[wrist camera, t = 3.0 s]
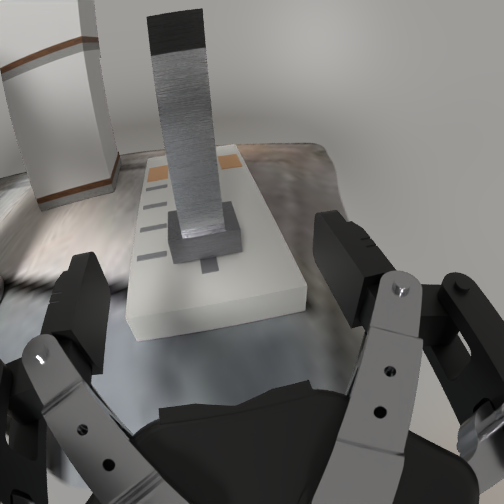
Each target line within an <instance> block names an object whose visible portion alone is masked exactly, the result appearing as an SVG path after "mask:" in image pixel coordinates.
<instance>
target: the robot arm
mask: <svg viewBox="0 0 504 504" xmlns="http://www.w3.org/2000/svg"><path fill="white" fill-rule="evenodd" d="M313 255H314V259H315V262H316V264H317V266H318V268H319V270H320V271H321V273H322V275H323V277H324V279H325V280H326V282H327V284H328V286H329V288H330V290H331V291H332V293H333V295H334V297H335V299H336V301H337V302H338V304H339V306H340V308H341V310H342V312H343V314H344V316H345V317H346V319H347V321H348V323H349V325H350V327H351V328H355V327H358V326H363V328H364V329H365V333H364V336H363V339H362V343H361V347H360V350H359V354H358V357H357V360H356V364H355V367H354V370H353V374H352V377H351V380H350V383H349V385H348V388H347V391H346V394H345V395H344V394H341V393H337V392H334V391H328V390H319V389H312V387H311V385H310V382H309V380H307V381H303V382H299V383H295V384H291V385H287V386H283V387H279V388H275V389H271V390H269V391H267V392H265V393H263V394H261V395H259V396H257V397H255V398H253V399H250V400H248V401H246V402H244V403H242V404H239V405H236V406H223V405H207V404H189V405H182V406H175V407H167V408H159V418H160V419H157V420H155V421H153V422H151V423H149V424H147V425H146V426H144V427H143V428H141V429H140V430H139V431H138V432H136V433H135V434H134V435H133V433H132V432H131V431H130V430H129V429H128V428H127V427H126V426H125V425H124V424H123V423H122V422H121V420H120V419H119V418H118V417H117V416H116V415H115V413H114V412H113V411H112V410H111V408H110V407H109V406H108V405H107V403H106V402H105V401H104V400H103V398H102V397H101V396H100V394H99V393H98V392H97V391H96V389H95V388H94V387H93V385H92V384H91V377H92V375H97V374H103V363H104V351H105V341H106V331H107V322H108V314H109V307H110V289H109V285H108V283H107V280H106V278H105V276H104V274H103V271H102V269H101V267H100V264H99V262H98V260H97V257H96V255H95V254H94V252H88V253H83V254H78V255H74V256H73V257H72V260H71V263H70V266H69V269H68V271H64V272H63V273H62V274H61V275H60V277H59V278H58V279H57V281H56V282H55V285H54V289H53V292H52V295H51V298H50V301H49V302H50V304H49V305H48V308H47V312H46V315H45V319H44V322H43V326H42V330H41V333H40V335H39V336H37V337H35V338H33V339H32V340H31V341H30V342H29V343H28V344H27V345H26V347H25V349H24V351H23V354H22V357H21V358H19V359H17V360H14V361H12V362H10V363H7V364H4V363H3V361H2V360H1V359H0V504H48V493H47V475H46V474H47V471H46V432H47V424H48V426H49V428H50V429H51V431H52V433H53V434H54V436H55V438H56V439H57V441H58V443H59V444H60V446H61V447H62V449H63V451H64V452H65V454H66V455H67V457H68V458H69V460H70V461H71V463H72V464H73V466H74V467H75V469H76V470H77V472H78V473H79V474H80V476H81V477H82V479H83V480H84V481H85V483H86V484H87V485H88V487H89V488H90V489H91V491H92V492H93V494H92V495H91V496H90V498H89V499H88V501H87V502H86V504H479V495H480V494H481V493H483V492H484V491H486V490H487V489H489V488H490V487H492V486H493V485H495V484H496V483H497V482H499V481H500V480H502V479H503V478H504V321H503V320H502V318H501V317H500V315H499V314H498V313H497V311H496V310H495V308H494V307H493V306H492V304H491V303H490V302H489V300H488V299H487V297H486V296H485V295H484V293H483V292H482V291H481V290H480V288H479V287H478V286H477V284H476V283H475V282H474V281H473V280H472V279H471V278H469V277H468V276H466V275H464V274H461V273H456V272H455V273H449V274H447V275H446V276H445V277H444V279H443V281H442V284H441V285H426V284H420V282H419V281H418V279H416V278H415V277H414V276H413V275H411V274H409V273H407V272H403V271H396V269H395V268H394V267H393V265H392V264H391V263H390V262H389V260H388V259H387V258H386V257H385V255H384V254H383V253H382V251H381V250H380V249H379V248H378V246H376V244H375V243H374V241H373V240H372V239H370V236H369V235H368V234H367V233H366V231H365V230H364V229H363V228H362V227H360V226H358V225H357V224H355V223H353V222H352V221H350V222H346V220H345V219H344V218H343V217H342V215H341V214H340V213H339V212H338V211H337V210H333V211H326V212H320V213H316V215H315V222H314V237H313ZM3 292H4V280H3V279H2V277H1V275H0V300H1V298H2V295H3ZM459 331H460V332H461V334H462V336H463V337H464V339H465V341H466V342H467V344H468V346H469V347H470V350H471V356H470V354H469V353H468V351H467V349H466V348H465V346H464V344H463V343H462V341H461V339H460V338H459V336H458V332H459ZM422 349H423V351H424V353H425V354H426V356H427V358H428V360H429V362H430V364H431V366H432V367H433V370H434V372H435V374H436V376H437V378H438V379H439V381H440V383H441V385H442V387H443V390H444V392H445V394H446V396H447V398H448V400H449V402H450V404H451V406H452V408H453V410H454V412H455V415H456V417H457V419H458V421H459V423H460V429H459V431H458V443H457V450H458V452H459V453H460V456H458V455H456V454H454V453H452V452H450V451H448V450H446V449H444V448H442V447H440V446H438V445H436V444H434V443H432V442H430V441H428V440H426V439H424V438H422V437H421V436H419V435H417V434H415V433H413V432H411V431H410V430H409V426H410V421H411V417H412V411H413V406H414V401H415V396H416V390H417V384H418V378H419V371H420V364H421V357H422ZM7 414H8V415H9V416H10V417H11V421H10V432H9V445H8V444H7V441H6V437H5V432H6V421H7Z"/></svg>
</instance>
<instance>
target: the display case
mask: <svg viewBox="0 0 504 504" xmlns="http://www.w3.org/2000/svg"><path fill="white" fill-rule="evenodd" d="M99 58H101V56H100V48H99V41H98V33H97V25H96V16H95V5H94V0H0V70H1V76H2V81H3V86H4V91H5V95H6V100H7V104H8V109H9V113H10V117H11V121H12V125H13V129H14V132H15V136H16V139H17V143H18V146H19V149H20V153H21V156H22V159H23V162H24V165H25V168H26V171H27V174H28V177H29V180H30V183H31V186H32V188H33V191H34V194H35V197H36V199H37V202H38V204H39V207H40V209H41V211H44V210H48V209H51V208H55V207H58V206H62V205H65V204H69V203H72V202H76V201H80V200H84V199H87V198H91V197H95V196H99V195H103V194H107V193H111V192H114V190H115V186H116V182H117V178H118V174H119V170H120V167H121V159H120V155H119V152H117V148H116V144H115V139H114V135H113V130H112V125H111V120H110V116H109V111H108V106H107V100H106V95H105V89H104V83H103V78H102V72H101V65H100V59H99Z"/></svg>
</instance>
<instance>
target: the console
mask: <svg viewBox="0 0 504 504" xmlns="http://www.w3.org/2000/svg"><path fill="white" fill-rule="evenodd" d="M216 155H217V164H218V173H219V182H220V191H221V199H222V202H228V201H231V202H232V205H233V208H234V211H235V214H236V217H237V220H238V223H239V226H240V229H241V240H242V251H243V252H240V253H234V254H228V255H223V256H217V257H211V258H206V259H200V260H194V261H189V262H183V263H177V264H173V260H172V256H171V252H170V248H169V245H168V212H169V211H175V210H177V209H176V204H175V199H174V194H173V189H172V184H171V179H170V174H169V168H168V163H167V157H166V155H164V156H159V157H153V158H148V161H147V166H146V171H145V176H144V181H143V187H142V192H141V198H140V204H139V210H138V216H137V222H136V229H135V236H134V243H133V250H132V258H131V267H130V276H129V285H128V295H127V307H126V320H127V322H128V324H129V326H130V328H131V330H132V332H133V334H134V336H135V338H136V340H137V341H144V340H151V339H158V338H164V337H171V336H177V335H183V334H189V333H195V332H201V331H207V330H212V329H218V328H223V327H229V326H234V325H239V324H244V323H249V322H254V321H259V320H264V319H269V318H274V317H279V316H283V315H288V314H292V313H297V312H301V311H305V307H306V296H307V284H306V282H305V280H304V278H303V275H302V273H301V271H300V269H299V267H298V265H297V263H296V261H295V259H294V257H293V255H292V253H291V251H290V249H289V247H288V245H287V243H286V241H285V239H284V237H283V235H282V233H281V231H280V229H279V227H278V225H277V223H276V221H275V219H274V218H273V216H272V214H271V212H270V210H269V208H268V206H267V204H266V202H265V200H264V198H263V196H262V194H261V192H260V190H259V188H258V186H257V185H256V183H255V181H254V179H253V177H252V175H251V173H250V171H249V169H248V167H247V166H246V164H245V162H244V160H243V158H242V156H241V154H240V152H239V150H238V149H237V147H236V145H235V144H232V145H225V146H218V147H216Z"/></svg>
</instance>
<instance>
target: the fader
mask: <svg viewBox="0 0 504 504" xmlns="http://www.w3.org/2000/svg"><path fill="white" fill-rule="evenodd" d="M147 25H148V34H149V43H150V51H151V60H152V67H153V74H154V82H155V89H156V96H157V103H158V109H159V116H160V122H161V128H162V134H163V140H164V146H165V152H166V157H167V163H168V168H169V174H170V179H171V184H172V189H173V194H174V199H175V204H176V209H177V210H175V211H169V212H168V245H169V248H170V252H171V256H172V260H173V264H177V263H183V262H189V261H194V260H200V259H206V258H211V257H217V256H223V255H228V254H234V253H240V252H243V251H242V240H241V229H240V226H239V223H238V220H237V217H236V214H235V211H234V208H233V205H232V202H231V201H228V202H222V199H221V191H220V182H219V173H218V164H217V155H216V146H215V139H214V138H215V137H214V128H213V118H212V109H211V98H210V88H209V78H208V68H207V56H206V45H205V34H204V21H203V9H193V10H185V11H178V12H171V13H165V14H160V15H154V16H149V17H147Z"/></svg>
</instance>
